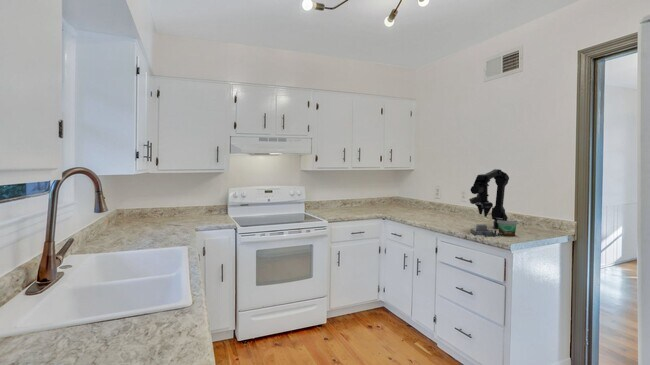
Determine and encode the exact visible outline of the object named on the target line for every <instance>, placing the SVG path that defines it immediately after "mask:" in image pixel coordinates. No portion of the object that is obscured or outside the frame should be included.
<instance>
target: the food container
mask: <svg viewBox="0 0 650 365" xmlns="http://www.w3.org/2000/svg"><path fill="white" fill-rule="evenodd" d="M497 223H498V229H497V230H498V233H500V236H501V237H502V236H503V237H515V235H516V231H517V225H518V224H519V223H518V220H517V219H516V220H507V221H502V220H498V221H497Z"/></svg>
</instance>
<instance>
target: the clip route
mask: <svg viewBox="0 0 650 365" xmlns="http://www.w3.org/2000/svg"><path fill="white" fill-rule="evenodd" d="M490 230H491V231H493V235H486V233H485V232H483V235H481V236H482V237H484V238H485V237H486V238H487V237H491V238H500V237H501V235H500V233H499V232H497V230H493V229H490Z"/></svg>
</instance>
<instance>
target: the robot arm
mask: <svg viewBox="0 0 650 365" xmlns="http://www.w3.org/2000/svg"><path fill="white" fill-rule="evenodd" d="M492 179H494V182H495V184H496V187H497V188H496V195H495V196H496V197H495V204H494V205H493V202H491V201H489V200H488V199H489V198H488V197H489V196H490V195H489V194H488V189H489V188H488V187H489V186H490V184H488V183H490V182H491V180H492ZM509 180H510V177H509V175H508V173H506V172H505V171H502V169H496V168H494V169H492V170H491V171H489V172H487V173H484V174H483V173H482V174H477V175H476V176H475V181H474V183H473V185H472V186H471V187H470V193H471V194H473V195H476V196H474V197H471V198H469V203H470V204H471V205H475V206H476V207H477V211H478V213H479V215H484V217H485V218H486V217H487V216H488V214H489V212H490V211H491V214H490V215H491V219H492V220H493V226H492V228H494V229H497V230H498V223H497V221H498V220H502V221H508V216H507V214H506V209H505V207H504V199H505V191H506V190H505V188H506V186H507V185H508V183H509Z"/></svg>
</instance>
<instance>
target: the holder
mask: <svg viewBox="0 0 650 365" xmlns="http://www.w3.org/2000/svg"><path fill="white" fill-rule="evenodd" d="M491 230H492V229H489V228H487V231H476V229H473V228H470V233H471V234H472V235H474V236H482V235H483V232H485V233H486V235H493V233H494V230H493V231H491Z"/></svg>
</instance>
